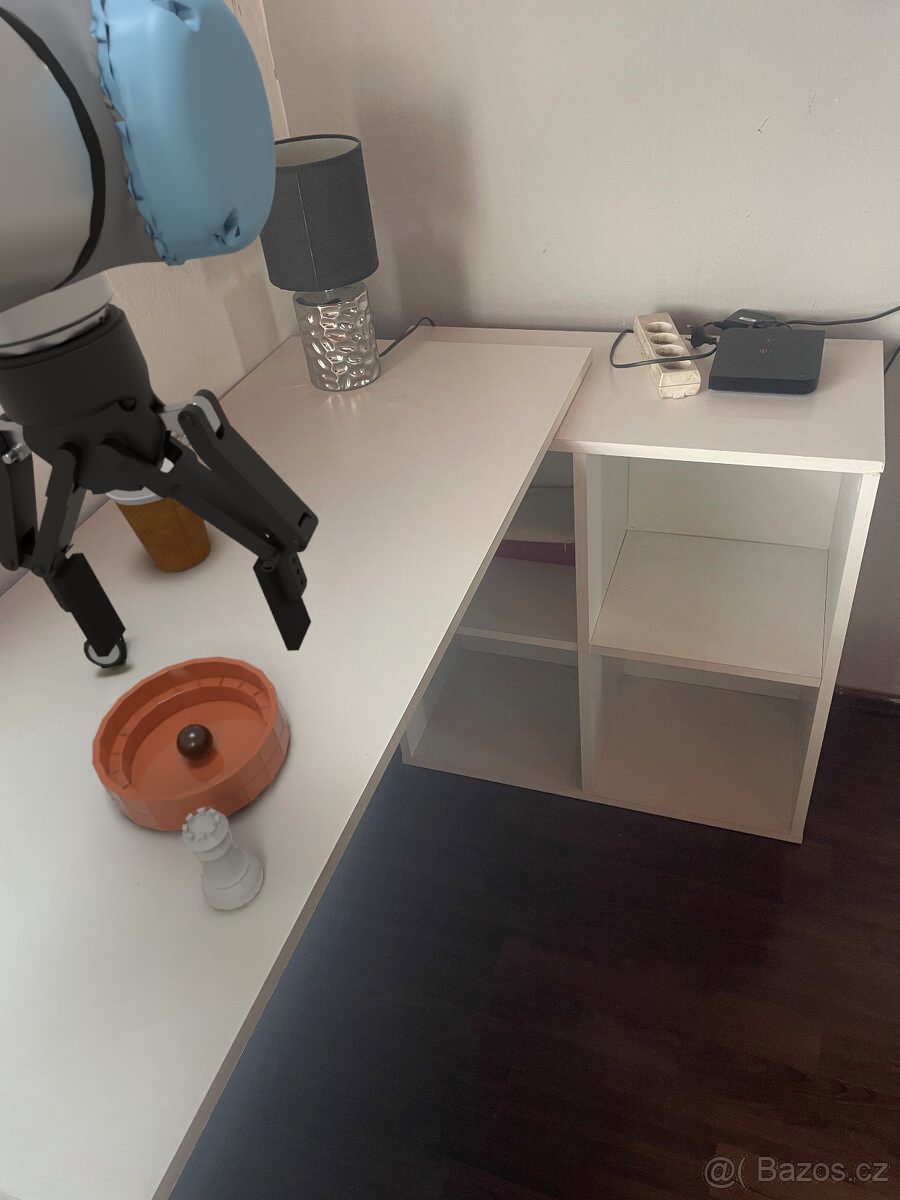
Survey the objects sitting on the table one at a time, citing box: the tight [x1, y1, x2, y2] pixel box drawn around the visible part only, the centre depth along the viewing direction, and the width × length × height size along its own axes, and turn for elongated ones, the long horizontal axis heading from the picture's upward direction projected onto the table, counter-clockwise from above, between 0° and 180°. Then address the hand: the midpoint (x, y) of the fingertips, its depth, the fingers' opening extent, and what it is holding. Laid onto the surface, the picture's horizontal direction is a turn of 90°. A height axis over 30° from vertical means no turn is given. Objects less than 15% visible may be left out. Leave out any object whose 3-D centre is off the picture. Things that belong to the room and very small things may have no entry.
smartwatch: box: [83, 634, 127, 669], centre depth 83 cm, size 4×5×5 cm
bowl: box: [91, 656, 290, 832], centre depth 72 cm, size 15×15×4 cm
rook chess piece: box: [181, 807, 264, 911], centre depth 61 cm, size 4×4×8 cm
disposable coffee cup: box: [104, 458, 211, 573], centre depth 93 cm, size 10×10×12 cm
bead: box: [176, 724, 214, 760], centre depth 72 cm, size 3×3×3 cm
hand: (203, 640), depth 56 cm, fingers open, 13 cm apart
